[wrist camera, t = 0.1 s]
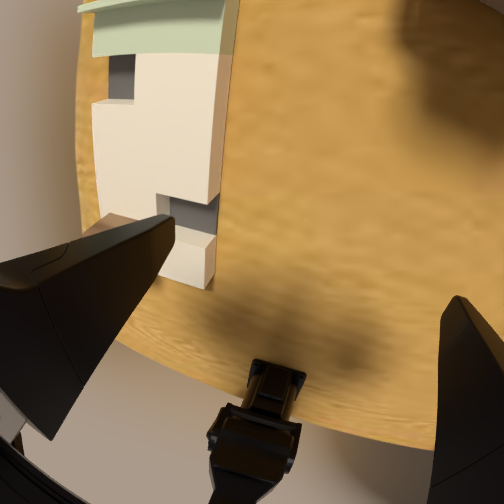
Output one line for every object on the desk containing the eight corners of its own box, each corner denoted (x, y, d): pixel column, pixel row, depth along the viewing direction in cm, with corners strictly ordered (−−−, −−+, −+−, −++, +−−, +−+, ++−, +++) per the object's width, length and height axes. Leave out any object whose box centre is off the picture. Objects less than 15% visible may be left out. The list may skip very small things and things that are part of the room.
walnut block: (148, 259, 29) (124, 285, 25) (114, 248, 29) (89, 271, 26) (144, 222, 26) (117, 246, 23) (109, 212, 27) (81, 234, 24)
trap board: (214, 273, 30) (194, 304, 27) (120, 244, 32) (95, 268, 29) (240, -2, 17) (214, -15, 13) (115, 7, 19) (78, 5, 15)
